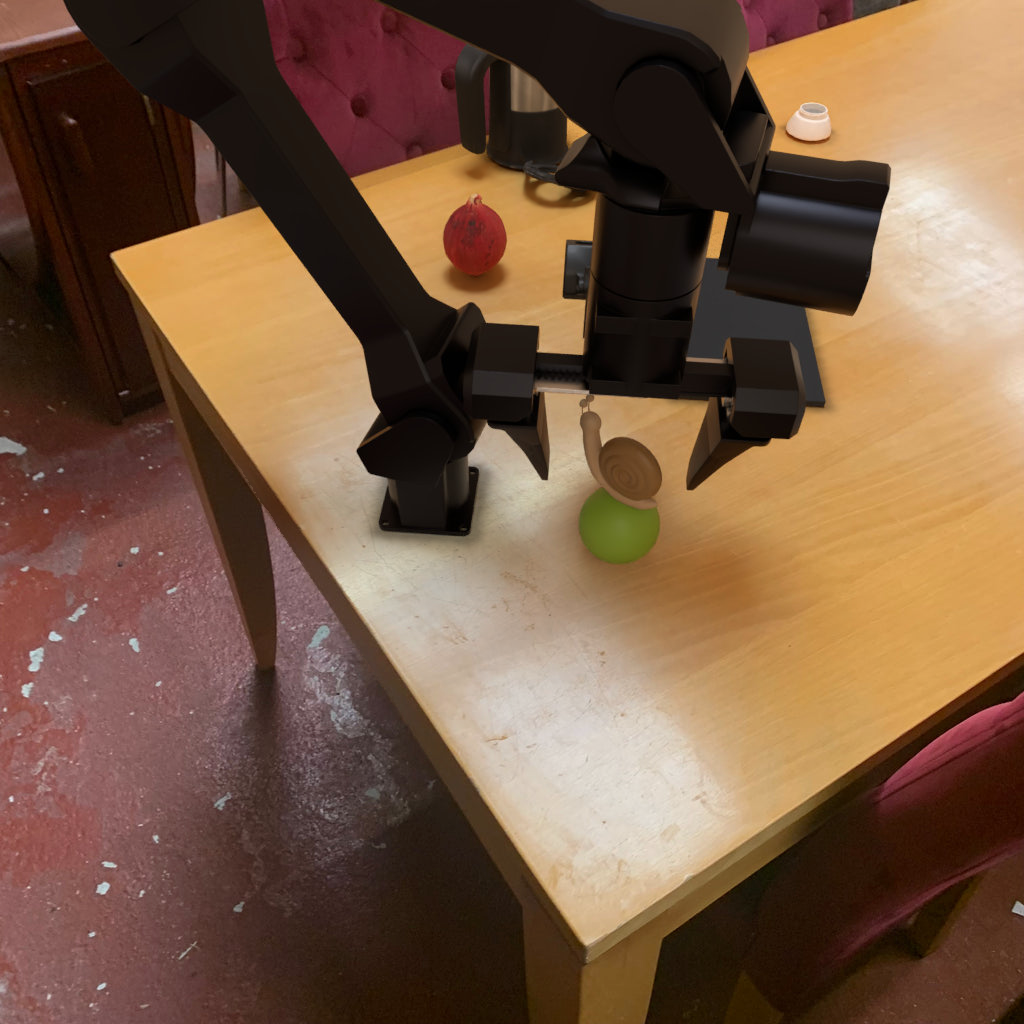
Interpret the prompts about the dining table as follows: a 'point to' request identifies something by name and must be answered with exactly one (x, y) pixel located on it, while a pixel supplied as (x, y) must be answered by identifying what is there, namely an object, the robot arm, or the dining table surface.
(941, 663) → the dining table surface
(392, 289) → the robot arm
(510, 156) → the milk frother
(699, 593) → the dining table surface
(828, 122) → the lidless jar
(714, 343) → the mat
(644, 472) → the snail figurine
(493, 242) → the onion
